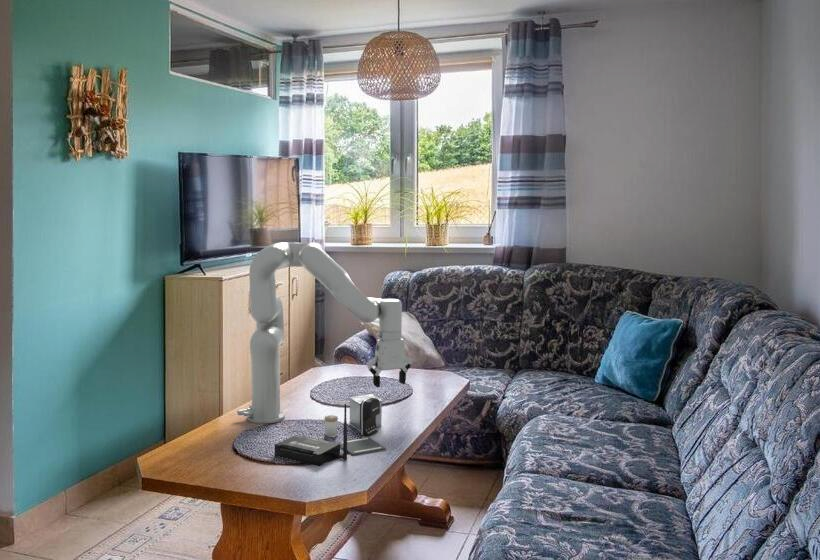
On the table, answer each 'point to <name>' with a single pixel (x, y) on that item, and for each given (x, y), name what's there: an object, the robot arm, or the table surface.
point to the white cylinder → (331, 425)
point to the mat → (362, 446)
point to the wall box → (355, 409)
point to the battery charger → (369, 416)
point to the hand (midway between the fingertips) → (389, 384)
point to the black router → (312, 448)
